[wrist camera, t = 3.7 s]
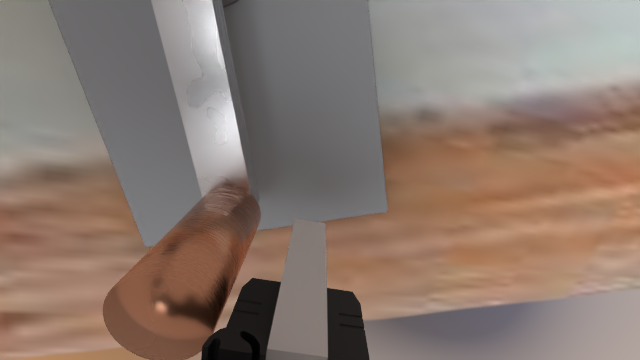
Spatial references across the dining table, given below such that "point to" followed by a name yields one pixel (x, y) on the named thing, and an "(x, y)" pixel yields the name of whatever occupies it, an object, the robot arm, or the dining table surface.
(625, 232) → the dining table surface
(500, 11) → the dining table surface
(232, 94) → the lever
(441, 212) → the dining table surface
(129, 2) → the base
